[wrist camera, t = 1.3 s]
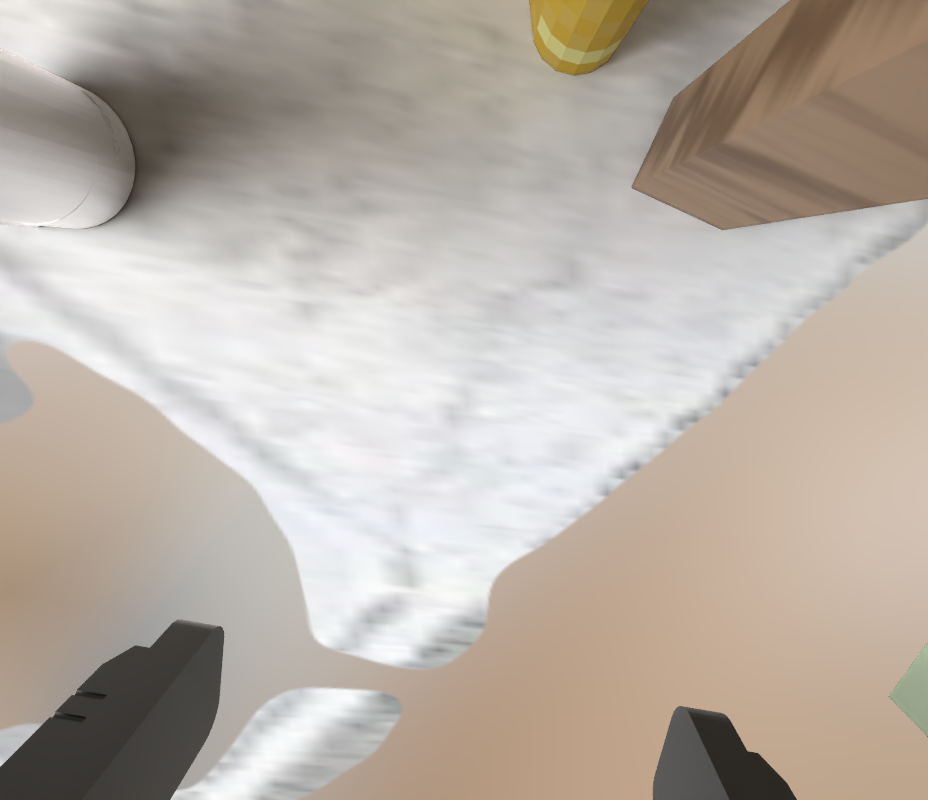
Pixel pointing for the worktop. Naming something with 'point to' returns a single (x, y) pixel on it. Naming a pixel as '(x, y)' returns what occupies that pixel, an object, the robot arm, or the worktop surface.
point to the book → (581, 31)
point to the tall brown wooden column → (801, 118)
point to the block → (914, 691)
